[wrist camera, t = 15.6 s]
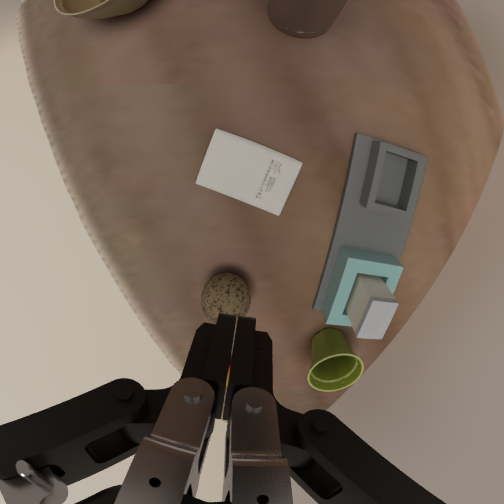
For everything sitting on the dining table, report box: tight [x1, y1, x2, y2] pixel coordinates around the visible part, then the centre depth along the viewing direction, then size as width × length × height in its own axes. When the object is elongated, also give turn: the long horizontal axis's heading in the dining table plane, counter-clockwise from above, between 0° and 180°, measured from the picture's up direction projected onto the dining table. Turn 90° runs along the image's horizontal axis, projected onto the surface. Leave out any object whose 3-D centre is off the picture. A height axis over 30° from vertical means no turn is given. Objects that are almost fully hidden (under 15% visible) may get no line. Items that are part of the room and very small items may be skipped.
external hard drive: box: [196, 128, 303, 216], centre depth 36 cm, size 2×8×12 cm
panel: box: [312, 133, 427, 326], centre depth 37 cm, size 28×12×5 cm, turn 171°
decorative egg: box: [201, 273, 251, 324], centre depth 39 cm, size 7×7×10 cm
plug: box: [345, 273, 399, 339], centre depth 37 cm, size 6×4×10 cm, turn 171°
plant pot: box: [308, 328, 364, 391], centre depth 44 cm, size 9×9×9 cm
